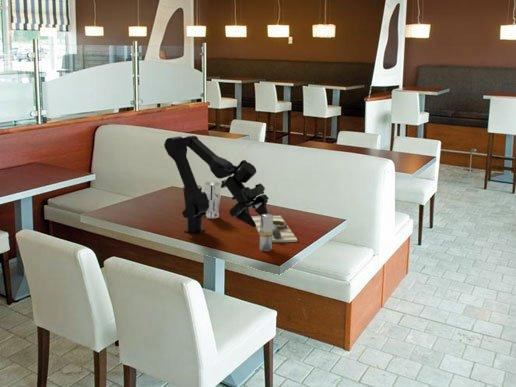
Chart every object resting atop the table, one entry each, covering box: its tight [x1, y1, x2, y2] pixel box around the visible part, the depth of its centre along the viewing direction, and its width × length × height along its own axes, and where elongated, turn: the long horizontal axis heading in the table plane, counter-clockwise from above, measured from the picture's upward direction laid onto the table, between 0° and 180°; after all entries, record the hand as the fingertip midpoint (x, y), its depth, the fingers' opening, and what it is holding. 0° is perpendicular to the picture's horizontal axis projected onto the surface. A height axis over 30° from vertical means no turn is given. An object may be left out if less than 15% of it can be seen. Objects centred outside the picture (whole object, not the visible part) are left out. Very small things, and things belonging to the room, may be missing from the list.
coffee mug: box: [182, 184, 203, 209], centre depth 262 cm, size 12×9×10 cm
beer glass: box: [204, 181, 222, 220], centre depth 250 cm, size 7×7×15 cm
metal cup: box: [259, 213, 274, 252], centre depth 213 cm, size 5×5×13 cm
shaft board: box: [251, 215, 298, 243], centre depth 237 cm, size 32×13×4 cm, turn 10°
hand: (262, 223), depth 213 cm, fingers open, 9 cm apart
